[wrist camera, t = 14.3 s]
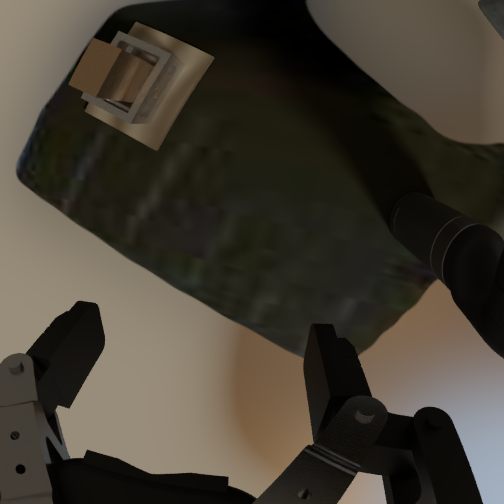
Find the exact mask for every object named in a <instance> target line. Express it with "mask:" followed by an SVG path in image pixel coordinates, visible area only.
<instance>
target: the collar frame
mask: <svg viewBox="0 0 504 504" xmlns="http://www.w3.org/2000/svg"><path fill="white" fill-rule="evenodd" d="M125 44H127V45H129V46H128V47H127V49H126V50H125V51H127V52H128V53H130V54H132V55H134V56H136V57H138V56H139V54H140V53H141V52H142V53H144V54H146V55H149V56H151V57H153V58H155V59H157V60H159V61H158V62H157V64H156V66H155V67H154V69H153V70H152V72H151V74H150V75H149V77H148V79H147V80H146V82H145V84H144V85H143V87H142V89H141V90H140V92H139V94H138V96H137V97H136V99H135V101H134V103H133V105H132V106H130V105H128V104H126V103H125V102H123V101H118V100H110V99H103V98H95V97H93V96H91V95H89V94H87V93H85V92H84V93H83V95H82V97H81V98H82V99H84V100H86V101H88V102H90V103H92V104H94V105H96V106H98V107H99V108H101V109H103V110H105V111H107V112H109V113H111V114H113V115H115V116H116V117H118V118H120V119H122V120H124V121H126V122H128V123H129V124H150V123H151V122H152V120H153V118H154V116H155V115H156V113H157V111H158V109H159V108H160V106H161V104H162V102H163V101H164V99H165V97H166V96H167V94H168V92H169V91H170V89H171V88H172V86H173V84H174V83H175V81H176V80H177V78H178V76H179V75H180V73H181V72H182V70H183V69H184V67H185V65H184V64H183V63H182V62H181V61H179V60H178V59H177V58H176V57H175V56H173V55H172V54H171V53H169V52H166V51H164V50H162V49H160V48H158V47H155V46H153V45H151V44H149V43H146V42H144V41H142V40H139V39H137V38H135V37H132V36H130V35H128V34H125V33H123V32H120V31H118V33H117V34H116V36H115V38H114V39H113V41H112V42H111V45H113V46H116V47H118V48H120V49H123V47H124V46H125ZM166 71H167V72H166ZM161 79H162V80H161ZM158 84H159V85H158ZM155 89H156V90H155ZM152 94H153V95H152ZM144 108H145V109H144Z"/></svg>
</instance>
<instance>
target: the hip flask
mask: <svg viewBox="0 0 504 504" xmlns="http://www.w3.org/2000/svg"><path fill="white" fill-rule="evenodd" d="M478 4H479V7H480V9H481V11H482V12H483V13H484V15H485V16H486V17H487V19H488V20H489V22H490V23H491V24H492V26H493V27H494V28H495V29H496V31H497V32H498V33H499V34H500V36H501V37H502V38H503V39H504V0H480V1H479V3H478Z"/></svg>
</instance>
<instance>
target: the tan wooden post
mask: <svg viewBox="0 0 504 504" xmlns="http://www.w3.org/2000/svg"><path fill="white" fill-rule="evenodd" d="M153 69H154V66H152V65H151V64H149V63H147V62H145V61H143V60H141V59H140V58H138V57H136V56H134V55H132V54H130V53H128V52H127V51H125V50H123V49H120V48H118V47H116V46H113V45H111V44H108V43H106V42H103V41H100V40H98V39H95V38H93V39H92V41H91V43H90V44H89V46H88V48H87V50H86V52H85V53H84V55H83V57H82V59H81V61H80V63H79V65H78V66H77V68H76V70H75V72H74V74H73V76H72V78H71V80H70V82H69V84H68V85H70V86H73V87H75V88H77V89H79V90H81V91H83V92H85V93H87V94H89V95H91V96H93V97H95V98H103V99H110V100H118V101H124V102H131V103H134V101H135V99H136V97H137V96H138V94H139V92H140V90H141V89H142V87H143V85H144V84H145V82H146V80H147V79H148V77H149V75H150V74H151V72H152V70H153Z"/></svg>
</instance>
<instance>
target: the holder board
mask: <svg viewBox="0 0 504 504" xmlns="http://www.w3.org/2000/svg"><path fill="white" fill-rule="evenodd" d="M128 35H130V36H132V37H135V38H137V39H139V40H142V41H144V42H146V43H149V44H151V45H153V46H155V47H158V48H160V49H162V50H164V51H166V52H169V53H171V54H172V55H173V56H175V57H176V58H177V59H178V60H179V61H181V62H182V63H183V64H184V65H185V67H184V69H183V70H182V72H181V73H180V75H179V76H178V78H177V80H176V81H175V83H174V84H173V86H172V88H171V89H170V91H169V92H168V94H167V96H166V97H165V99H164V101H163V102H162V104H161V106H160V108H159V109H158V111H157V113H156V115H155V116H154V118H153V120H152V122H151V123H150V124H129V123H128V122H126V121H124V120H122V119H120V118H118V117H116V116H115V115H113V114H111V113H109V112H107V111H105V110H103V109H101V108H99V107H98V106H96V105H94V104H92V103H90V102H89V104H88V106H87V108H86V110H85V112H87V113H89V114H91V115H92V116H94V117H96V118H98V119H100V120H102V121H104V122H105V123H107V124H109V125H111V126H113V127H115V128H116V129H118V130H120V131H122V132H124V133H125V134H127V135H129V136H131V137H133V138H134V139H136V140H138V141H140V142H142V143H143V144H145V145H147V146H149V147H150V148H152V149H154V150H158V149H159V147H160V145H161V144H162V142H163V140H164V138H165V136H166V135H167V133H168V131H169V129H170V128H171V126H172V124H173V122H174V121H175V119H176V117H177V116H178V114H179V112H180V111H181V109H182V107H183V106H184V104H185V102H186V101H187V99H188V98H189V96H190V94H191V93H192V91H193V90H194V88H195V87H196V85H197V83H198V82H199V80H200V79H201V77H202V76H203V74H204V73H205V71H206V70H207V68H208V67H209V65H210V64H211V62H212V61H213V59H214V57H213V56H211V55H209V54H207V53H205V52H203V51H201V50H199V49H197V48H195V47H193V46H191V45H188V44H186V43H184V42H182V41H180V40H178V39H176V38H173V37H171V36H169V35H167V34H164V33H162V32H160V31H157V30H155V29H153V28H150V27H148V26H145V25H143V24H140V23H138V22H136V23H135V24H134V26H133V27H132V29H131V30H130V32H129V33H128ZM128 46H129V45H127V44H125V46H124V47H123V50H126V49H127V47H128ZM138 58H140V59H141V60H143V61H145V62H147V63H149V64H151V65H152V66H154V67H155V66H156V64H157V62H158V61H159V60H157V59H155V58H153V57H151V56H149V55H146V54H144V53H142V52H141V53H140V54H139V56H138ZM166 72H167V71H166ZM161 80H162V79H161ZM158 85H159V84H158ZM155 90H156V89H155ZM152 95H153V94H152ZM123 102H124V101H123ZM125 103H126V104H128V105H130V106H132V105H133V103H131V102H125ZM144 109H145V108H144Z"/></svg>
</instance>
